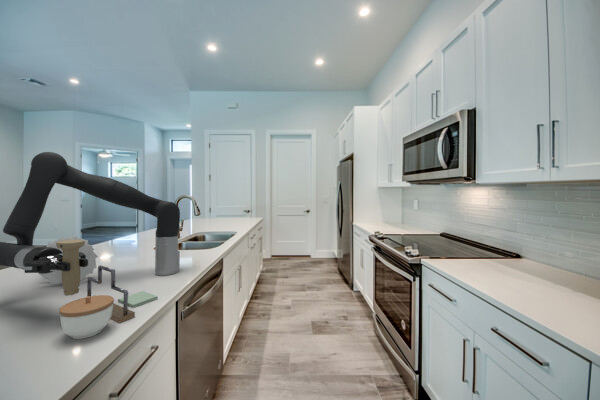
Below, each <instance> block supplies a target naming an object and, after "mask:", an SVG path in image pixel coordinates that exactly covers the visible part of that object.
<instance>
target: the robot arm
mask: <svg viewBox="0 0 600 400" xmlns="http://www.w3.org/2000/svg"><path fill="white" fill-rule="evenodd" d="M28 174H29V175H28V178H27V180H26V184H25V185H24V187H23V191H22V192H21V194H20V196H19V197H18V200H17V201H16V204H15V205H14V207H13V208H12V211H11V213H10V215H9V217H8V218H7V220H6V223H5V224H4V226H3V228H2V232H3V233H4V234H5V235H8V236H11V237H13V238H15V239H16V243H12V242H5V241H0V267H1V266H2V267H11V268H15V269H20V270H22V271H24V274H38V273H41V274H46V273H51V272H53V271H58V270H60V271H66V272H67V271H70V269H71V268H70V263H67V262H62V260H63V253H62V252H61V251H60V250H59V249H56V248H51V247H46V246H43V245H42V246H40V245H34V235H35V232H36V230H37V227H38V225H39V223H40V220H42V219H41V218H42V216H43V214H44V211H45V208H46V204H47V201H48V198H49V196H50V194H51V192H52V189H53V188H54V186H55V184H58V185H62V186H65V187H69V188H72V189H75V190H78V191H81V192H83V193H85V194H87V195H89V196H93V197H95V198H98V199H100V200H103V201H105V202H108V203H112V204H115V205H117V206H121V207H124V208H127V209H128V208H129V209H133V210H137V211H142V212H144V213H146V214H149V215H151V216H152V217H155V218H157V219H156V229H155V247H154V248H155V249H154V250H155V254H154V255H155V260H154V262H155V263H154V271H155V272H154V274H155V275H156V276H170V275H174V274H176V273H177V272H180V260H181V258H180V257H181V255H180V254H181V253H180V250H179V230H180V222H181V221H180V220H181V211H180V207H179V206H178V205H177V204H176V203H175V202H172V201H166V200H163V199H159V198H155V197H152V196H149V195H147V194H146V193H144V192H142V191H140V190H138V189H137V188H134V187H133V186H131V185H129V184H126V183H123V182H122V181H119V180H116V179H114V178H110V177H106V176H101V175H96V174H92V173H88V172H86V171H82V170H81V169H78V168H75V167H74V166H71V165H69V164H68V163H67V160H66V159H65V157H64V156H62V155H60V154H59V153H56V152H53V151H44V152H40V153H38V154H36V155H35V156H34V157H33V158H32V159H31V162H30V171H29V173H28ZM79 262H80V267H87V266H88V259H86V255H85V254H84V253H82V252H79Z"/></svg>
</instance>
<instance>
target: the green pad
mask: <svg viewBox="0 0 600 400" xmlns="http://www.w3.org/2000/svg"><path fill="white" fill-rule="evenodd" d="M156 300H158V295H156V294H152V293H150V292H146V291H145V290H142V291H138V292H136V293H132V294H128V308H129V307H130V308H132V309H134V308H136V307H140V306H142V305H145V304H149V303H150V302H153V301H156ZM117 303H119V304H122V305H124V296H122V297H119V298H117Z"/></svg>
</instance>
